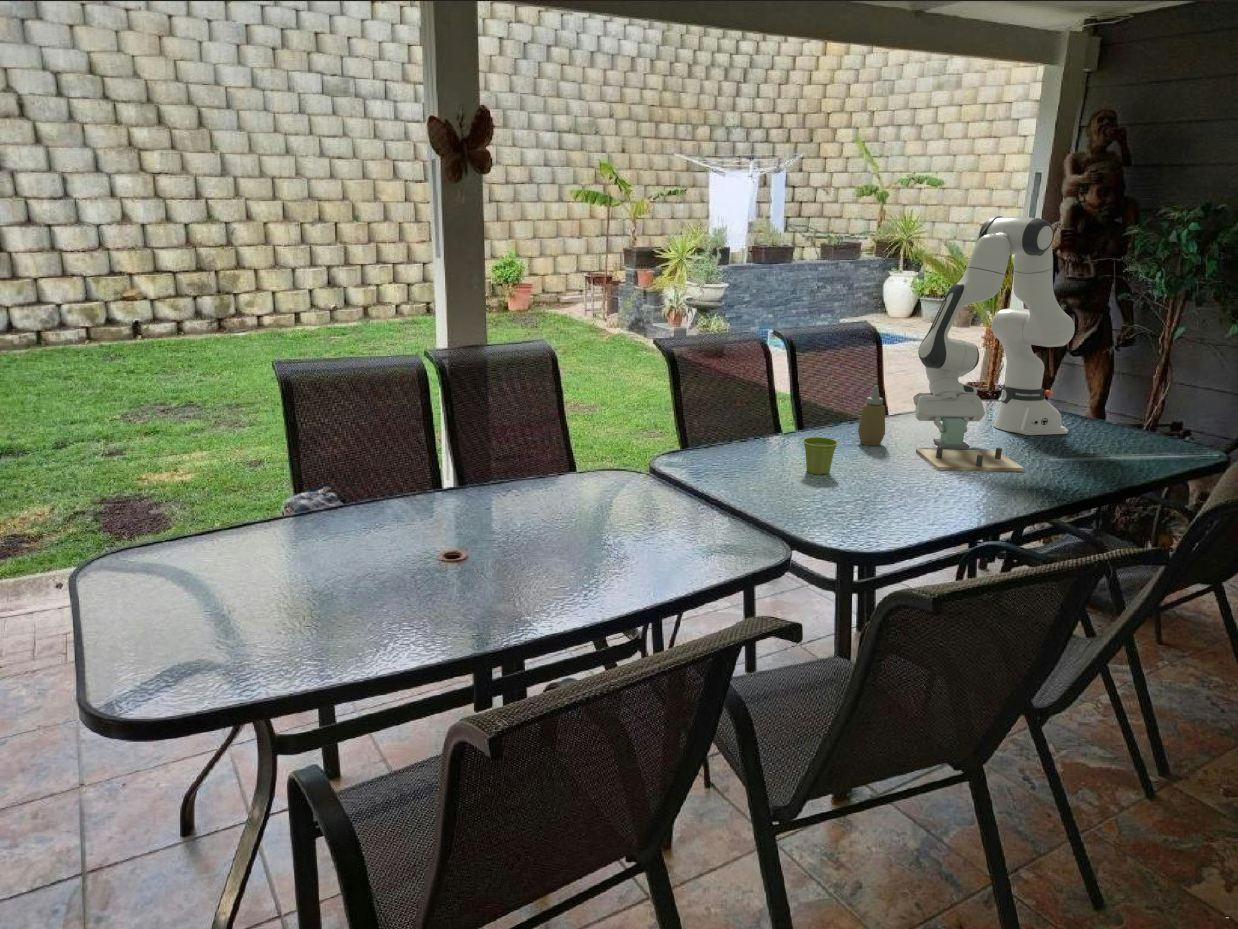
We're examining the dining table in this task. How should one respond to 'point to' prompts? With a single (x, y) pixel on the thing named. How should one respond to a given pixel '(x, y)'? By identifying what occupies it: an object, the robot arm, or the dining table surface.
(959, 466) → the locating board
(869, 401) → the squeeze bottle
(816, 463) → the plant pot
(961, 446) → the flange block
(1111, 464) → the dining table surface
